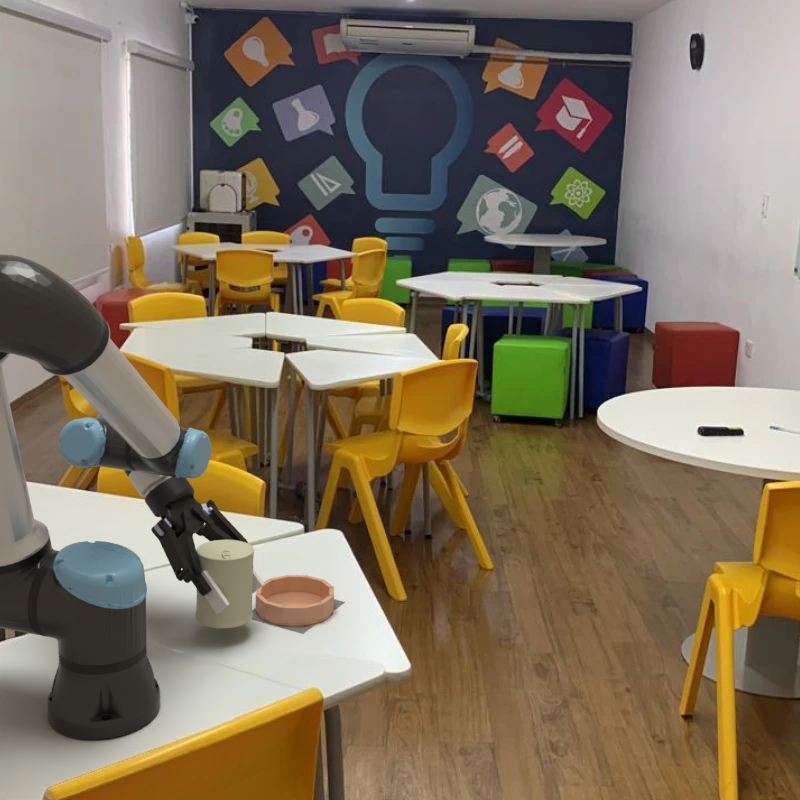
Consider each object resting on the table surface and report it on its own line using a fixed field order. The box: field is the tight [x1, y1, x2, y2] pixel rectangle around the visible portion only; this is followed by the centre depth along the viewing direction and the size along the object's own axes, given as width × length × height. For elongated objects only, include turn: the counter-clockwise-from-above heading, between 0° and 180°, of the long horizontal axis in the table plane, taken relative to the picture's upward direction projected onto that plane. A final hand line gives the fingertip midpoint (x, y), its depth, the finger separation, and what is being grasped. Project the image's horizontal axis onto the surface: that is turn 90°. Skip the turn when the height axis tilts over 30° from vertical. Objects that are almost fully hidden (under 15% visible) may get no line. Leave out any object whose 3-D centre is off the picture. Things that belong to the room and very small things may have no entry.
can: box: [194, 540, 255, 629], centre depth 157 cm, size 9×9×12 cm
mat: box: [251, 598, 346, 635], centre depth 169 cm, size 14×12×1 cm
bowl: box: [255, 574, 335, 627], centre depth 169 cm, size 13×13×3 cm
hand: (241, 598), depth 156 cm, fingers closed on can, 9 cm apart
